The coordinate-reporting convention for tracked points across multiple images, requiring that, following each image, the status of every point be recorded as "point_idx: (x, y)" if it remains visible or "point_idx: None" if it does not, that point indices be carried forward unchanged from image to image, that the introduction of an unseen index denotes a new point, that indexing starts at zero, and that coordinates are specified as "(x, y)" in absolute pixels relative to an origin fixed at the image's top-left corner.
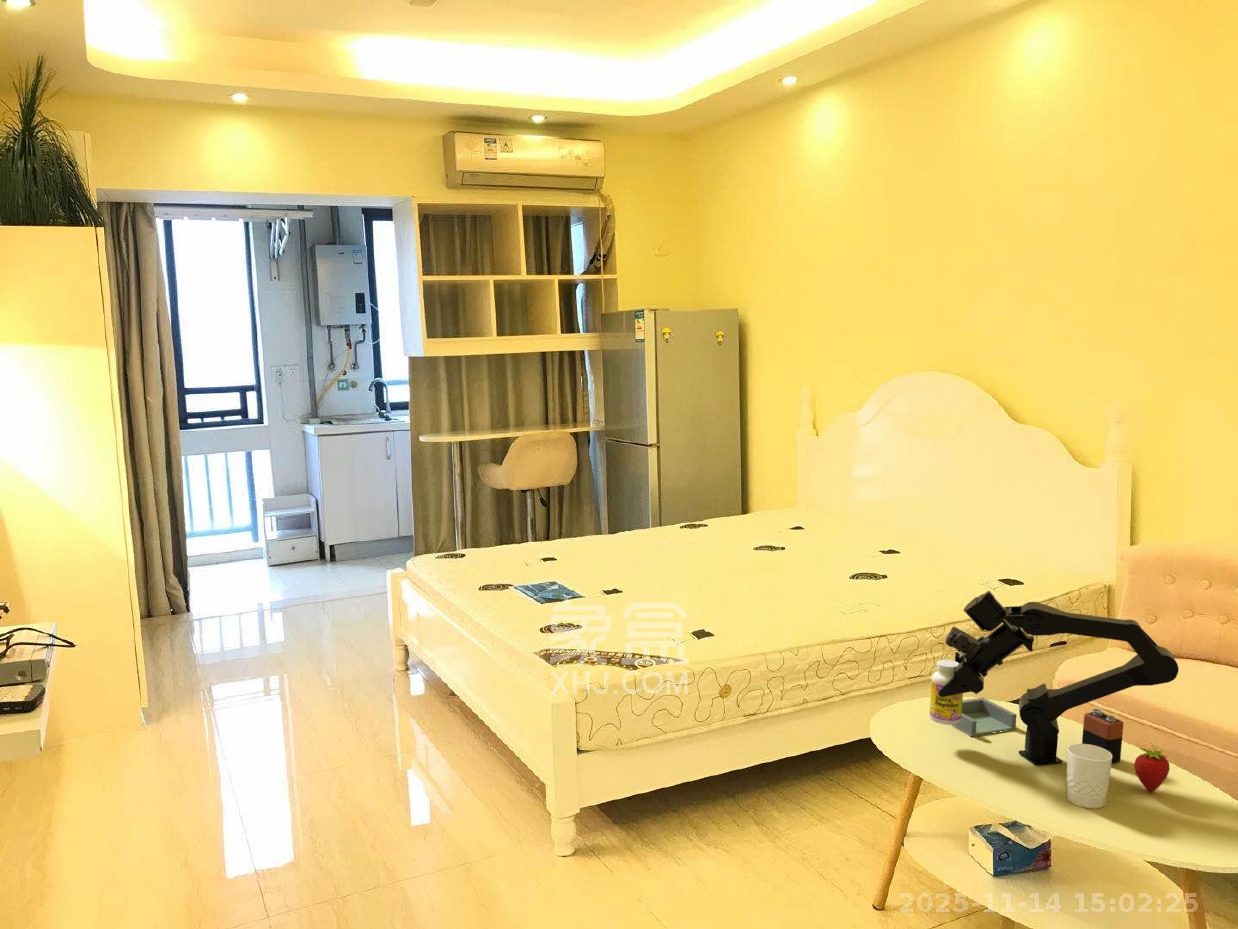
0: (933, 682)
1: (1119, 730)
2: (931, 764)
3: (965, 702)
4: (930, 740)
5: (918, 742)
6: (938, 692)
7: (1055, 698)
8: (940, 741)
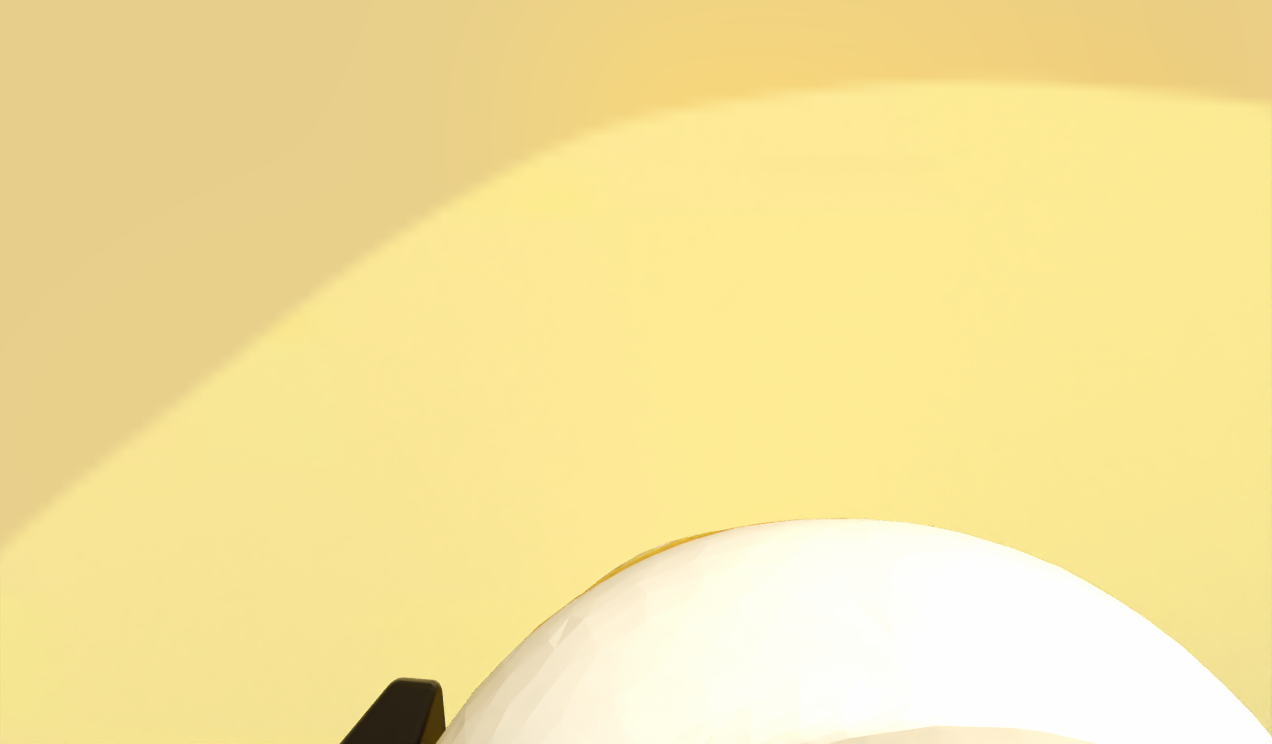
0: (630, 566)
1: None
2: (182, 558)
3: None
4: None
5: (698, 443)
6: (420, 688)
7: None
8: None
